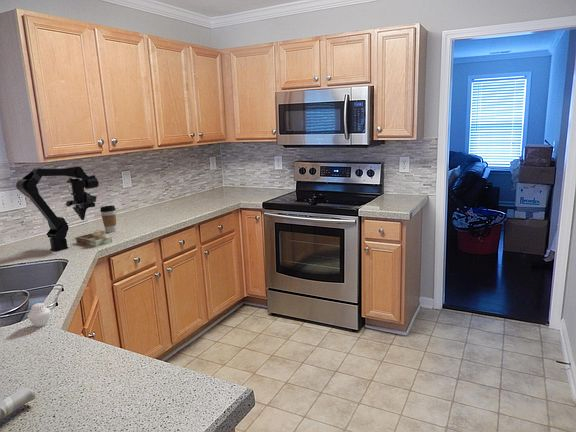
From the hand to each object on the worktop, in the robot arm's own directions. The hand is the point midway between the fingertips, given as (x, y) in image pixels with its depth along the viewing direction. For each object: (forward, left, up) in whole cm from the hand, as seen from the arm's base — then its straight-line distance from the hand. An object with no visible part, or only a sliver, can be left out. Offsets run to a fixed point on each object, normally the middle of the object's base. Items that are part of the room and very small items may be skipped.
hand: (82, 219), depth 228 cm
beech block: (+1, -12, -9) cm, 15 cm away
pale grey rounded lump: (-65, -81, -12) cm, 105 cm away
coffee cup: (+20, +8, -12) cm, 25 cm away
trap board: (+1, -6, -12) cm, 13 cm away
